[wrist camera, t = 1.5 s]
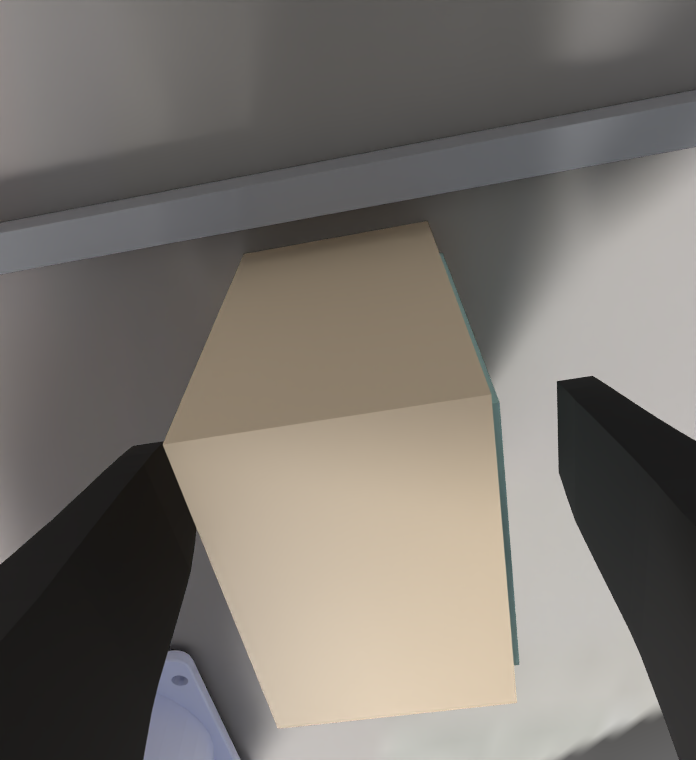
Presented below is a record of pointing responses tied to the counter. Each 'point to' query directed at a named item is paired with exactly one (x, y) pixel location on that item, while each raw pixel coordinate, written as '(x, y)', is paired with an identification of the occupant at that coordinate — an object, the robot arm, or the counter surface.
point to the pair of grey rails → (353, 182)
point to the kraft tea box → (353, 481)
